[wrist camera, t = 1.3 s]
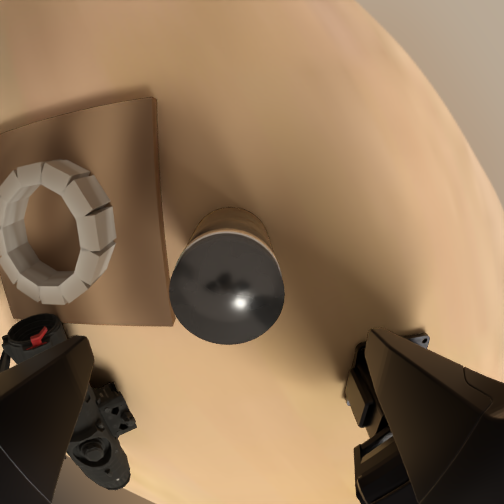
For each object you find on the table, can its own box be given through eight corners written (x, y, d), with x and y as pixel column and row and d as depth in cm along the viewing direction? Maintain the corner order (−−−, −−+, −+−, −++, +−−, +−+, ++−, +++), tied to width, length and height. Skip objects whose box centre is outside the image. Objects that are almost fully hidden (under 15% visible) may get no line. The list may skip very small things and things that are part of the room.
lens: (269, 205, 18) (286, 237, 12) (270, 279, 20) (284, 343, 13) (189, 208, 18) (160, 242, 11) (195, 281, 20) (176, 346, 13)
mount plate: (156, 99, 16) (138, 89, 13) (175, 318, 20) (165, 348, 17) (-11, 140, 16) (-41, 143, 12) (19, 312, 20) (-3, 333, 17)
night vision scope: (132, 431, 28) (56, 463, 21) (75, 280, 22) (-28, 315, 16) (169, 479, 22) (80, 519, 16) (98, 314, 16) (-41, 363, 10)
